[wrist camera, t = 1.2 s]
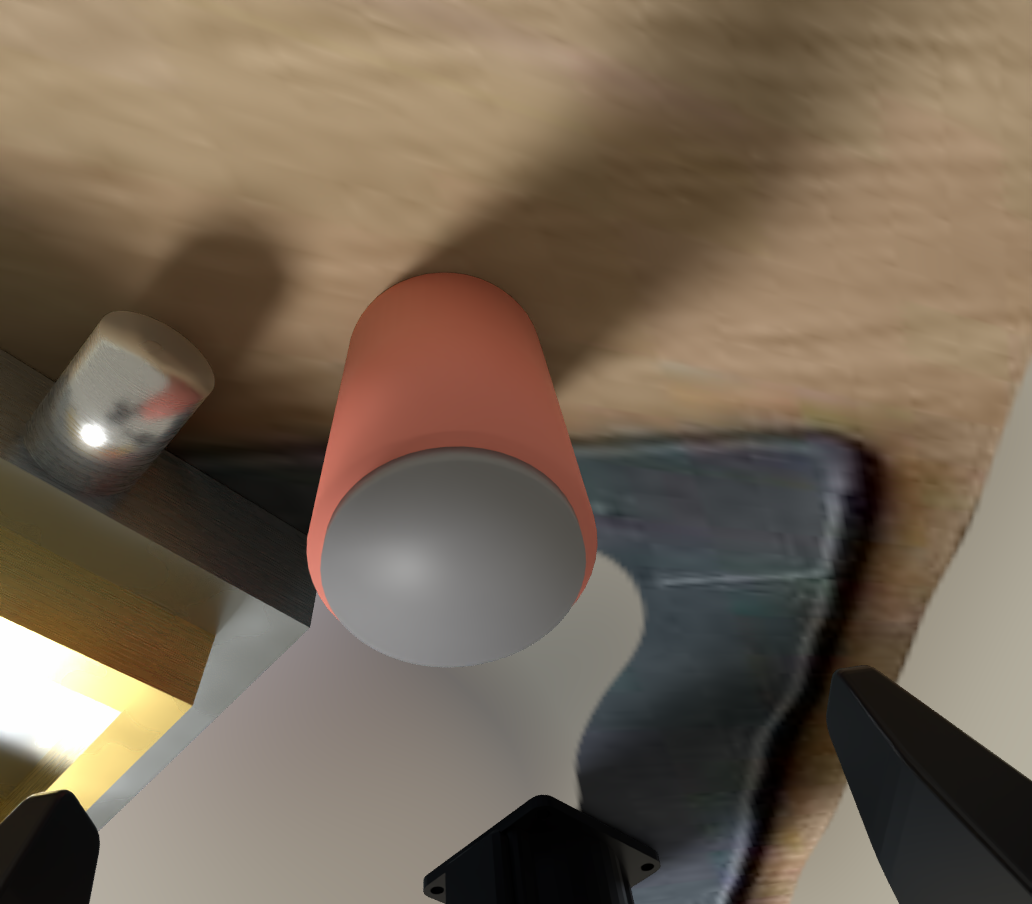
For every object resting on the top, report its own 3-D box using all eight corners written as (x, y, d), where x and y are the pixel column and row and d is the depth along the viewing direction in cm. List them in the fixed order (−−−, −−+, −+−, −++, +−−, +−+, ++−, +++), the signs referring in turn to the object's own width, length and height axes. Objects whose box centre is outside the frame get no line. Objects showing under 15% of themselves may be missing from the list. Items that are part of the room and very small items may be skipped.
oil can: (581, 358, 18) (661, 556, 12) (454, 480, 20) (466, 714, 13) (435, 229, 16) (439, 384, 10) (307, 375, 18) (241, 590, 11)
